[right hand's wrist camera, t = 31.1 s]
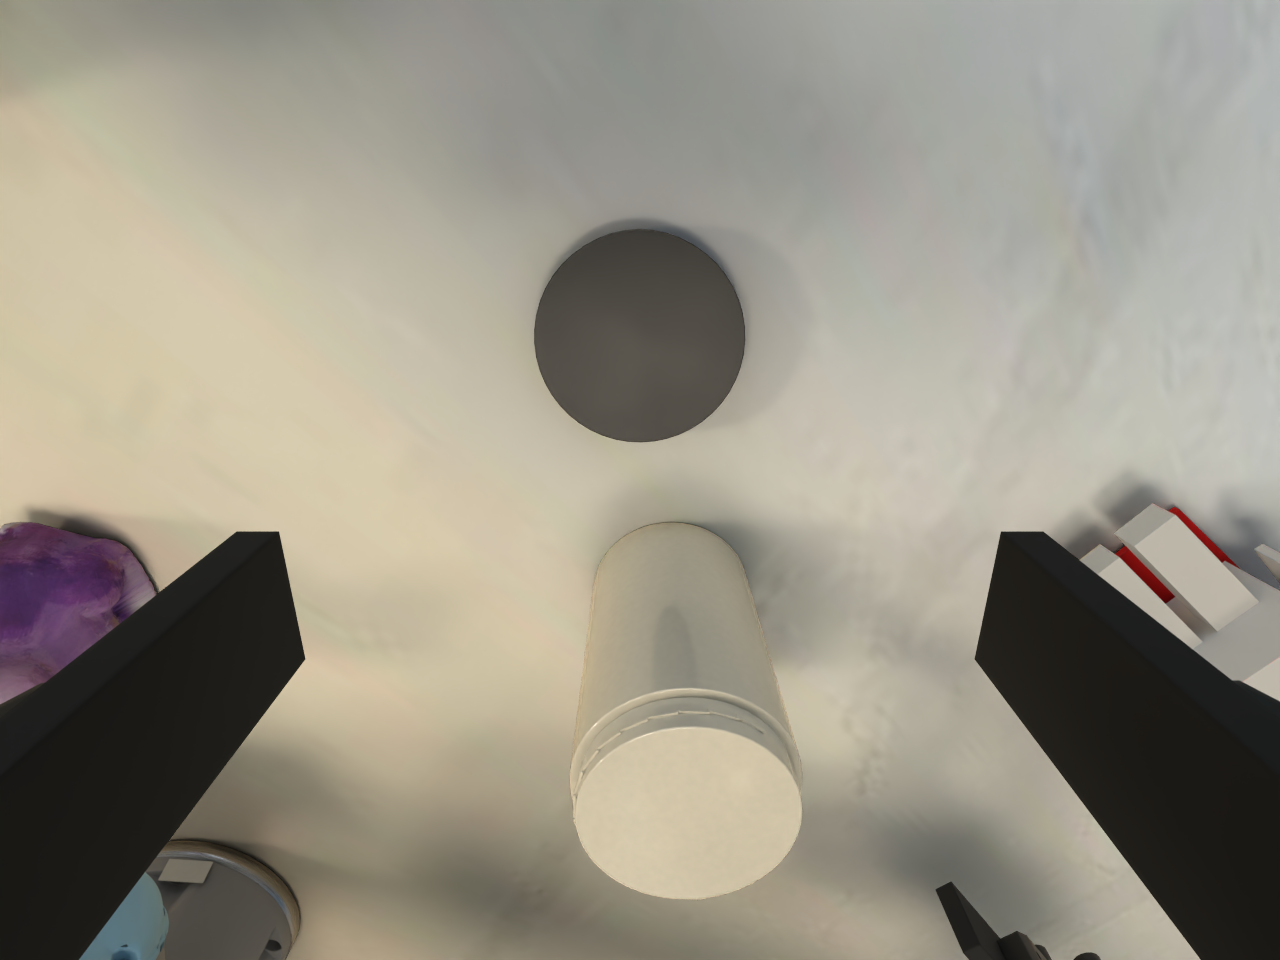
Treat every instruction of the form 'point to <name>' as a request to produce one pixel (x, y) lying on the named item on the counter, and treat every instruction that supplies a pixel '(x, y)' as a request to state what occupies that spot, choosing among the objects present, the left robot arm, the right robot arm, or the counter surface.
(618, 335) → the lid
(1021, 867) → the counter surface
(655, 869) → the jar
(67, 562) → the figurine
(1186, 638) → the toy
